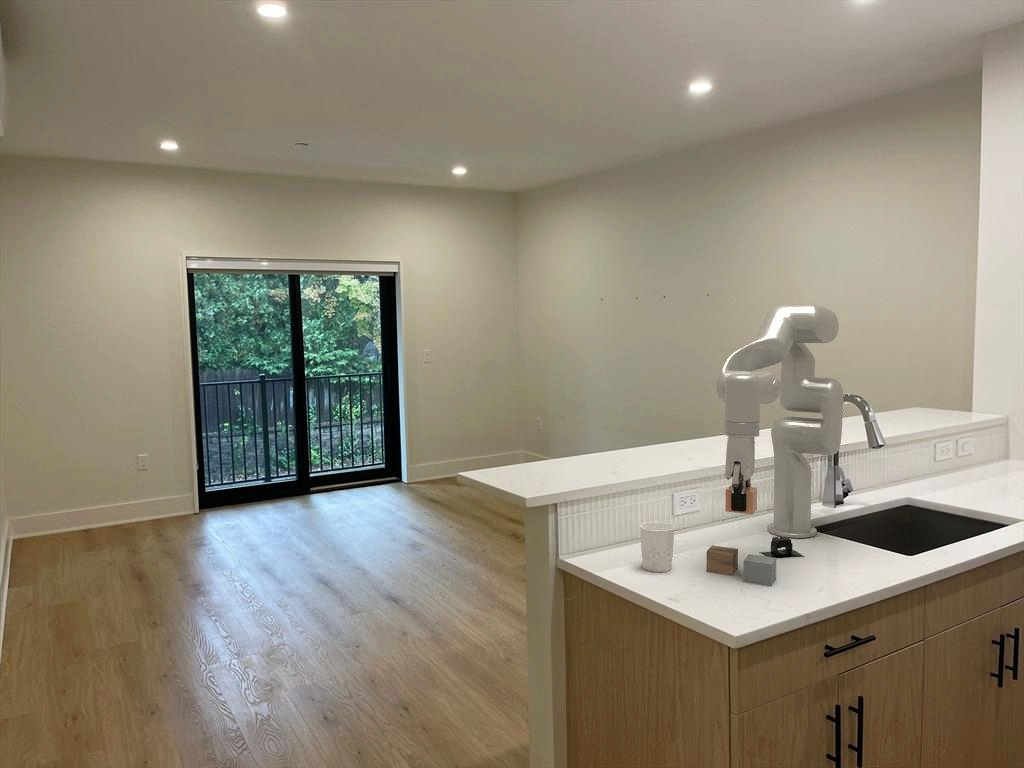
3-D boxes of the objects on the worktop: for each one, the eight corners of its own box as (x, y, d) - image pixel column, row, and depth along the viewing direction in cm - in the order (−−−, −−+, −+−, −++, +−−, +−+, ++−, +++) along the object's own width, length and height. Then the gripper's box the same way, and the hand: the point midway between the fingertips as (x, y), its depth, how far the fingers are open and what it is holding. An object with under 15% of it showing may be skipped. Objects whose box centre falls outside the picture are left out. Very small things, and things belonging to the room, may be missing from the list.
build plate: (796, 550, 187) (797, 532, 187) (813, 559, 180) (813, 541, 180) (751, 553, 185) (751, 536, 185) (765, 563, 178) (765, 544, 178)
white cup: (669, 561, 178) (669, 521, 177) (677, 572, 170) (678, 530, 169) (637, 562, 178) (637, 522, 177) (644, 573, 170) (644, 531, 169)
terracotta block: (730, 506, 172) (730, 485, 171) (756, 509, 169) (757, 487, 169) (725, 511, 167) (725, 489, 167) (752, 514, 165) (753, 492, 164)
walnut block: (712, 565, 175) (712, 545, 175) (738, 569, 172) (738, 548, 172) (706, 572, 171) (706, 551, 170) (732, 576, 168) (732, 554, 167)
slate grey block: (748, 575, 168) (748, 554, 168) (776, 579, 165) (776, 557, 165) (743, 582, 164) (743, 560, 163) (771, 586, 161) (771, 564, 160)
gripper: (732, 423, 176) (731, 498, 177) (716, 433, 161) (715, 514, 162) (765, 424, 172) (764, 501, 174) (752, 435, 157) (751, 518, 159)
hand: (741, 507), depth 168 cm, fingers closed on terracotta block, 5 cm apart
